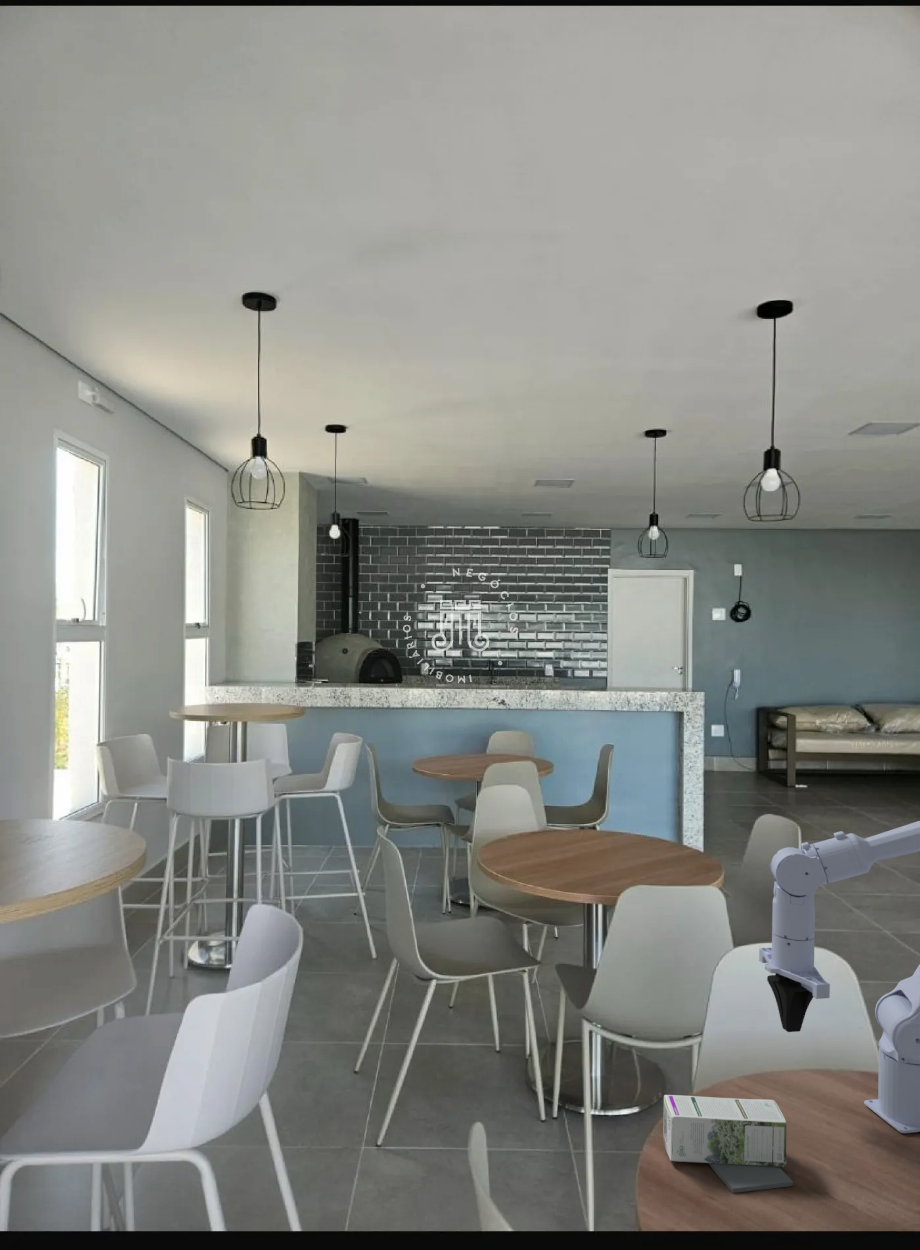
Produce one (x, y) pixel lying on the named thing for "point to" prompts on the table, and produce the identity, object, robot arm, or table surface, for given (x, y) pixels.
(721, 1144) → the syrup box
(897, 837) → the robot arm
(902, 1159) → the table surface
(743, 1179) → the pad
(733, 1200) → the table surface
